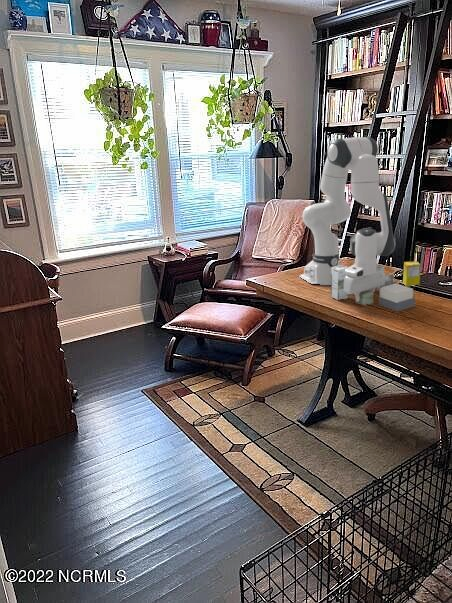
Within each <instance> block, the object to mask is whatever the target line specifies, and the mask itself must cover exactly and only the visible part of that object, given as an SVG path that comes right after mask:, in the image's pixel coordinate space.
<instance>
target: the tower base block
mask: <svg viewBox="0 0 452 603" xmlns="http://www.w3.org/2000/svg"><path fill="white" fill-rule="evenodd" d="M378 305H379V306H382V307H383V306H384V308H386V309H389V310H391V309H392V311H395V312H400V311H404V310H406V309H410V308H413V307H415V306H416V297H413V298H411V299H408V300H404V301H401V302H398V303H396V302H393V301H390V300H387V299H384V298H382V297H380V295H379V296H378Z"/></svg>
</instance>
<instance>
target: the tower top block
mask: <svg viewBox="0 0 452 603" xmlns="http://www.w3.org/2000/svg"><path fill="white" fill-rule="evenodd" d="M413 295H414V288H409V287H406V286H404V285H403V284H399V283H394V284H392V285H389V286H385V287H381V288H380V294H379V296H380V297H382V298H384V299H387V300H390V301H393V302H396V303H398V302H401V301H404V300H408V299H411V298H413Z"/></svg>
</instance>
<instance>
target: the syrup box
mask: <svg viewBox="0 0 452 603" xmlns="http://www.w3.org/2000/svg"><path fill="white" fill-rule="evenodd" d="M347 268H349V267H348V266H347V265H344V264H341V265H340V266H334V267H332V268H331V285H330V298H332V297H333V298H335V299H337V300H339V299H344V300H347V299H346V298H348V299H349V295H350V294H347V293H345V292H344V278H345V276H346V274H345V270H346V269H347ZM333 298H332V299H333ZM335 299H334V300H335ZM337 300H336V301H337ZM339 301H340V300H339Z"/></svg>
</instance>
